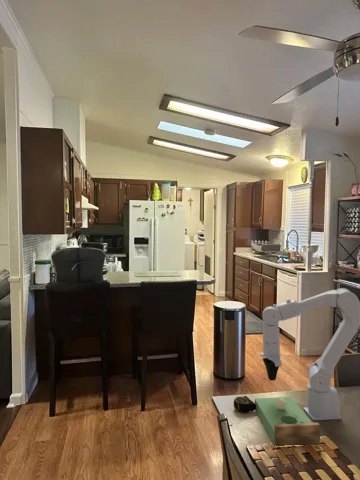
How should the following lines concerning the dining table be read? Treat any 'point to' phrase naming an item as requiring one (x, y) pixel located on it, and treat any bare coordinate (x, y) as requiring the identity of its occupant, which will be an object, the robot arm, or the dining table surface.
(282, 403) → the ball
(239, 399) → the tape measure
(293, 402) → the green
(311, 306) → the robot arm
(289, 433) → the end rail
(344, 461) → the dining table surface
